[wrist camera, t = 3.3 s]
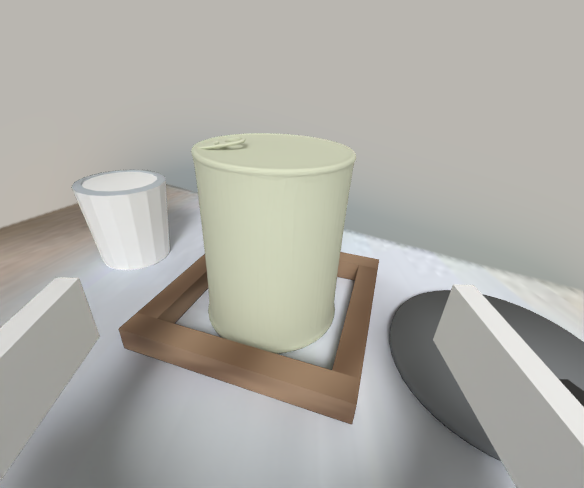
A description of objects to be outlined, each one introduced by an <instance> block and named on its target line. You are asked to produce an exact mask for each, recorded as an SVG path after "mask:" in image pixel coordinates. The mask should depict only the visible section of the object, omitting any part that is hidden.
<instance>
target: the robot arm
mask: <svg viewBox="0 0 584 488" xmlns="http://www.w3.org/2000/svg"><path fill="white" fill-rule="evenodd" d="M99 337H100V335H99V333H98V330H97V327H96V324H95V321H94V319H93V316H92V313H91V310H90V307H89V304H88V302H87V299H86V296H85V293H84V290H83V287H82V285H81V282H80V279H79V278H64V277H56V278H55V279H54V280H52V281H51V282H50V283H49V284H48V285H47V286H46V287H45V288H44V289H43V290H41V291H40V292H39V293H38V294H37V295H36V296H35V297H34V298H33V299H32V300H31V301H29V302H28V303H27V304H26V305H25V306H24V307H23V308H22V309H21V310H20V311H18V312H17V313H16V314H15V315H14V316H13V317H12V318H11V319H10V320H9V321H7V322H6V323H5V324H4V325H3V326H2V327H1V328H0V481H1V480H2V478H3V477H4V475H5V474H6V472H7V471H8V470H9V468H10V467H11V465H12V464H13V462H14V461H15V459H16V458H17V456H18V455H19V454H20V452H21V451H22V449H23V448H24V446H25V445H26V443H27V442H28V440H29V439H30V438H31V436H32V435H33V433H34V432H35V430H36V429H37V427H38V426H39V424H40V423H41V422H42V420H43V419H44V417H45V416H46V414H47V413H48V411H49V410H50V408H51V407H52V405H53V404H54V403H55V401H56V400H57V398H58V397H59V395H60V394H61V392H62V391H63V389H64V388H65V387H66V385H67V384H68V382H69V381H70V379H71V378H72V376H73V375H74V373H75V372H76V371H77V369H78V368H79V366H80V365H81V363H82V362H83V360H84V359H85V357H86V356H87V355H88V353H89V352H90V350H91V349H92V347H93V346H94V344H95V343H96V341H97V340H98V339H99ZM433 341H434V342H435V344H436V346H437V348H438V350H439V351H440V353H441V355H442V357H443V358H444V360H445V362H446V364H447V365H448V367H449V369H450V371H451V373H452V374H453V376H454V378H455V380H456V381H457V383H458V385H459V387H460V389H461V390H462V392H463V394H464V396H465V397H466V399H467V401H468V403H469V404H470V406H471V408H472V410H473V412H474V413H475V415H476V417H477V419H478V420H479V422H480V424H481V426H482V427H483V429H484V431H485V433H486V435H487V436H488V438H489V440H490V442H491V443H492V445H493V447H494V449H495V450H496V452H497V454H498V456H499V458H500V459H501V461H502V463H503V465H504V466H505V468H506V470H507V472H508V474H509V475H510V477H511V479H512V481H513V482H514V484H515V486H516V488H584V391H583V390H582V389H580V388H579V387H578V386H576V385H575V384H574V383H572V382H571V381H569V380H568V379H558V378H557V377H556V376H555V375H554V374H553V372H552V371H551V370H550V369H549V368H548V367H547V366H546V365H545V364H544V362H543V361H542V360H541V359H540V358H539V357H538V356H537V355H536V354H535V352H534V351H533V350H532V349H531V348H530V347H529V346H528V345H527V344H526V343H525V341H524V340H523V339H522V338H521V337H520V336H519V335H518V334H517V333H516V331H515V330H514V329H513V328H512V327H511V326H510V325H509V324H508V323H507V321H506V320H505V319H504V318H503V317H502V316H501V315H500V314H499V313H498V311H497V310H496V309H495V308H494V307H493V306H492V305H491V304H490V303H489V301H488V300H487V299H486V298H485V297H484V296H483V295H482V294H481V293H480V291H479V290H478V289H477V288H476V287H475V286H474V285H453V286H452V289H451V292H450V294H449V297H448V300H447V303H446V305H445V308H444V311H443V314H442V316H441V319H440V322H439V325H438V327H437V330H436V333H435V336H434V338H433Z"/></svg>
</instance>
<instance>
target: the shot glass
mask: <svg viewBox="0 0 584 488" xmlns="http://www.w3.org/2000/svg"><path fill="white" fill-rule="evenodd" d="M165 181H166V180H165V176H164V175H162V174H160V173H158V172H153V171H148V170H118V171H110V172H103V173H98V174H94V175H90V176H87V177H84V178H82V179H80V180H78V181H76V182H74V184H73V186H72V187H71V188H72V190H73V192H74V194H75V197H76V199H77V202H78V204H79V206H80V208H81V211H82V213H83V215H84V218H85V220H86V222H87V225H88V227H89V229H90V232H91V234H92V236H93V239H94V241H95V243H96V246H97V248H98V250H99V252H100V255H101V257H102V259H103V262H104V263H105V264H106V265H107V267H110V268H113V269H116V270H135V269H141V268H146V267H148V266H151V265H154V264H157V263H158V262H160V261H161V260H163V259H164V258H166V257H167V255H168V254H169V252H170V245H169V228H168V212H167V196H166V182H165Z"/></svg>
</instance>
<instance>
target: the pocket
mask: <svg viewBox="0 0 584 488" xmlns="http://www.w3.org/2000/svg"><path fill="white" fill-rule="evenodd" d="M378 263H379V260H378V259H373V258H368V257H363V256H358V255H353V254H348V253H343V252H340V258H339V265H338V272H337V277H341V278H346V279H351V280H355V283H354V287H353V291H352V295H351V299H350V302H349V306H348V310H347V314H346V318H345V322H344V326H343V330H342V334H341V337H340V341H339V345H338V349H337V353H336V357H335V361H334V365H333V369H332V370H329V369H326V368H322V367H319V366H316V365H312V364H309V363H305V362H302V361H299V360H295V359H292V358H289V357H285V356H282V355H278V354H275V353H272V352H268V351H265V350H262V349H258V348H255V347H251V346H248V345H245V344H241V343H238V342H235V341H231V340H228V339H224V338H221V337H218V336H214V335H211V334H208V333H204V332H201V331H197V330H194V329H191V328H187V327H184V326H181V325H177V324H174V323H175V322H176V321H177V320H178V319H179V318H180V317H181V316H182V315H183V314H184V313H185V312H186V311H187V310H188V309H189V308H190V307H191V305H192V304H193V303H194V302H195V301H196V300H197V299H198V298H199V297H200V296H201V295H202V294H203V293H204V292H205V291H206V290H207V289H208V278H207V268H206V259H205V254H204V255H203V256H202V257H201V258H199V259H198V260H197V261H196V262H195V263H194V264H192V265H191V266H190V267H189V268H188V269H187V270H186V271H184V272H183V273H182V274H181V275H180V276H179V277H177V278H176V279H175V280H174V281H173V282H172V283H171V284H169V285H168V286H167V287H166V288H165V289H164V290H163V291H161V292H160V293H159V294H158V295H157V296H156V297H154V298H153V299H152V300H151V301H150V302H149V303H148V304H146V305H145V306H144V307H143V308H142V309H141V310H139V311H138V312H137V313H136V314H135V315H134V316H133V317H131V318H130V319H129V320H128V321H127V322H126V323H125V324H123V325H122V326H121V327H120V328H119V332H120V335H121V339H122V342H123V345H124V348H126V349H129V350H132V351H135V352H138V353H141V354H144V355H147V356H150V357H153V358H155V359H158V360H161V361H164V362H167V363H170V364H173V365H176V366H179V367H182V368H185V369H188V370H191V371H194V372H197V373H200V374H203V375H206V376H209V377H212V378H215V379H218V380H221V381H224V382H227V383H230V384H233V385H236V386H239V387H242V388H245V389H248V390H251V391H254V392H257V393H260V394H263V395H266V396H269V397H272V398H275V399H278V400H281V401H283V402H286V403H289V404H292V405H295V406H298V407H301V408H304V409H307V410H310V411H313V412H316V413H319V414H322V415H325V416H328V417H331V418H334V419H337V420H340V421H343V422H346V423H349V424H352V422H353V418H354V414H355V409H356V405H357V399H358V392H359V386H360V380H361V373H362V367H363V360H364V354H365V347H366V341H367V334H368V328H369V322H370V315H371V309H372V302H373V296H374V289H375V283H376V276H377V270H378Z"/></svg>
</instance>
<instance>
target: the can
mask: <svg viewBox="0 0 584 488" xmlns="http://www.w3.org/2000/svg"><path fill="white" fill-rule="evenodd" d="M191 152H192V156H193V160H194V166H195V172H196V181H197V188H198V197H199V205H200V214H201V222H202V231H203V240H204V249H205V259H206V268H207V278H208V288H209V309H208V313H209V318H210V321H211V324H212V326H213V328H214V329H215V331H216V332H217V333H218V334H219V335H220V336H221V337H222V338H224V339H228V340H231V341H235V342H238V343H241V344H245V345H248V346H251V347H255V348H258V349H262V350H265V351H268V352H272V353H275V354H276V353H286V352H291V351H295V350H298V349H301V348H304V347H306V346H308V345H310V344H312V343H314V342H315V341H317V340H318V339H319V338H321V337H322V336H323V335H324V334H325V333H326V331H327V330H328V329H329V327H330V326H331V324H332V321H333V318H334V313H335V307H334V297H335V288H336V280H337V272H338V265H339V258H340V251H341V244H342V236H343V229H344V222H345V216H346V209H347V203H348V195H349V189H350V184H351V178H352V171H353V166H354V162H355V160H356V154H355V152H354V151H353V150H352V149H351V148H349V147H347V146H345V145H342V144H340V143H337V142H333V141H329V140H325V139H320V138H314V137H307V136H300V135H289V134H264V133H263V134H262V133H259V134H258V133H257V134H235V135H226V136H219V137H214V138H210V139H207V140H203V141H201V142H199V143H197V144H195V145H194V146H193V147H192V151H191Z"/></svg>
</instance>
